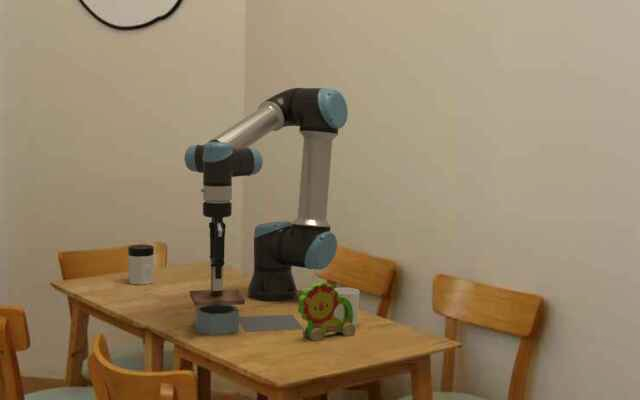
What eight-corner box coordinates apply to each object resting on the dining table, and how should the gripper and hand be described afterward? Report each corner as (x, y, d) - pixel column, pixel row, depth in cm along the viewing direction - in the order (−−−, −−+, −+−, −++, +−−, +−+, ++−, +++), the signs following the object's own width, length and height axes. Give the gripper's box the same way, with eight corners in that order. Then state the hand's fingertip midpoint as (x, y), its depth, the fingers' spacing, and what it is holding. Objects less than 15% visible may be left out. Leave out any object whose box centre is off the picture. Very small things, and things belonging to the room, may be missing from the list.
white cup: (338, 331, 257) (339, 295, 256) (325, 324, 264) (325, 289, 263) (364, 328, 261) (364, 292, 260) (350, 321, 268) (350, 286, 267)
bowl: (234, 324, 262) (234, 303, 261) (240, 335, 252) (240, 313, 251) (194, 326, 260) (194, 305, 259) (198, 337, 249) (198, 315, 248)
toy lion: (345, 332, 257) (346, 276, 255) (356, 337, 252) (357, 280, 250) (294, 340, 248) (294, 282, 246) (305, 345, 244) (305, 286, 242)
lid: (237, 293, 262) (237, 253, 261) (244, 304, 250) (245, 262, 248) (190, 295, 259) (190, 254, 258) (194, 306, 247) (194, 263, 245)
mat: (292, 316, 272) (292, 314, 272) (304, 330, 257) (304, 329, 257) (236, 318, 269) (236, 317, 269) (245, 333, 253) (245, 331, 253)
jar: (136, 286, 307) (136, 249, 306) (122, 282, 313) (122, 246, 312) (159, 282, 314) (159, 246, 312) (145, 278, 319) (145, 243, 318)
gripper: (199, 197, 258) (199, 282, 261) (206, 205, 242) (206, 295, 245) (227, 197, 260) (226, 282, 263) (235, 205, 244) (235, 295, 247)
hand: (216, 288), depth 254 cm, fingers closed on lid, 3 cm apart
